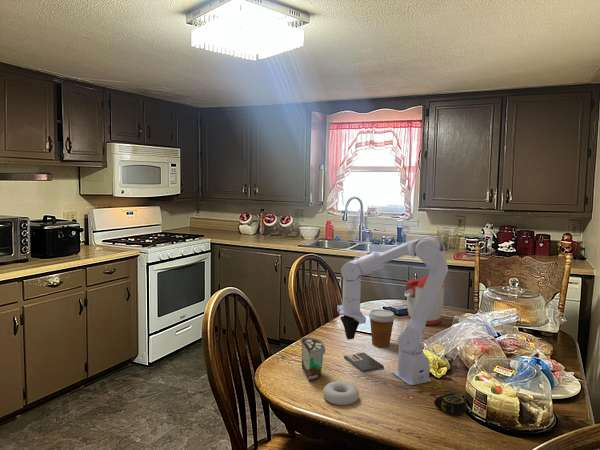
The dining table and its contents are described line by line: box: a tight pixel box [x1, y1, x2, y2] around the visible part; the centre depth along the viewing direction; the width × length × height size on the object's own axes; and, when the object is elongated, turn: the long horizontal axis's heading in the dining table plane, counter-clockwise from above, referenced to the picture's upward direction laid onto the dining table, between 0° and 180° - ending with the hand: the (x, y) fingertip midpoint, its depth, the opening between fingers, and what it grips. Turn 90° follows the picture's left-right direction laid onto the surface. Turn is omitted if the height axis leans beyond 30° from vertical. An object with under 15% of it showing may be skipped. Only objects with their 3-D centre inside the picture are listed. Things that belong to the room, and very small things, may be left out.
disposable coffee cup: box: [368, 308, 396, 348], centre depth 166 cm, size 10×10×12 cm
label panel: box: [343, 352, 385, 373], centre depth 149 cm, size 12×8×1 cm, turn 24°
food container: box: [300, 336, 327, 382], centre depth 140 cm, size 12×6×10 cm, turn 13°
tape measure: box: [433, 392, 467, 416], centre depth 120 cm, size 7×7×4 cm
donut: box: [322, 380, 360, 406], centre depth 126 cm, size 10×4×10 cm
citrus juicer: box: [403, 275, 446, 326], centre depth 193 cm, size 16×17×20 cm
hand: (350, 338), depth 147 cm, fingers closed
